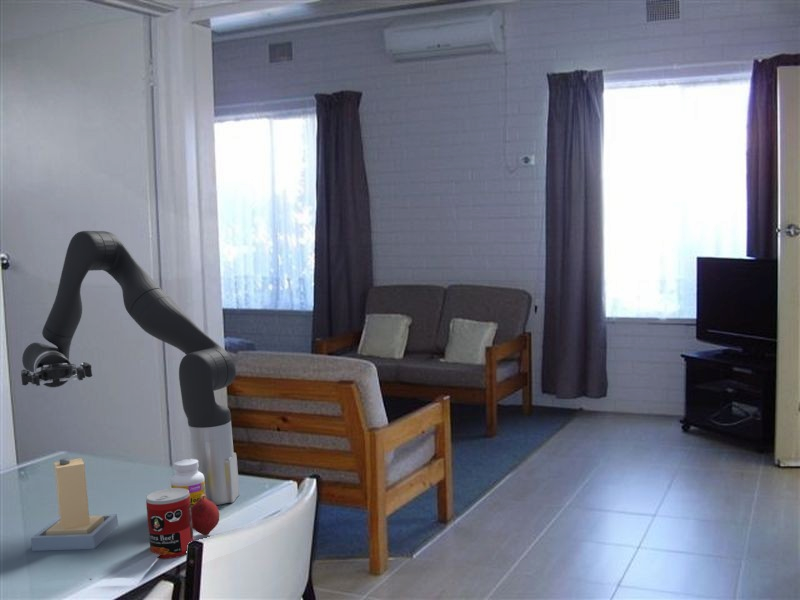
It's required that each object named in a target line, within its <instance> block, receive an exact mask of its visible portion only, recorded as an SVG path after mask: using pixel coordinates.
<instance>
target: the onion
mask: <svg viewBox="0 0 800 600" xmlns="http://www.w3.org/2000/svg"><path fill="white" fill-rule="evenodd" d="M206 497H207V496H206V495H201V497H200V499H199V500H198V501H197V502H196V503H195V504H194V505H193V506H192V508H191V516H192V529H193V530H194V531H196V532H197V533H199V534H200V535H203V536H208V535H209V534H210V533H211V532H212V531H214V529H215V528H216V527H217V526H218V524H219V522H220V510H219V508H218V505H215V504H214V503H213V502H211V501H209V500H207V498H206Z"/></svg>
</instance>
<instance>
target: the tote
mask: <svg viewBox="0 0 800 600" xmlns="http://www.w3.org/2000/svg"><path fill="white" fill-rule="evenodd" d="M102 515H103V517H104V522H103V523H102V524H101V525H100V526H98V527H97V528H96V529H95V530H94V531H93V532H92V533H90V534H75V535H47V536H46V531H47V530H48V529H49V528H51V527H52V526H53V525H55V524H56V523H57V522H58V521H60V518H59V516H58V517H56V518H55V519H54V520H52V521H51V522H50V523H48V524H47V525H46V526H45V527H43V528H42V529H41V530H39V531H38V532H36V533H35V534H34V535H33V536H32V537H31V538H30V539H31V540H30V541H31V550H32V552H38V551H40V552H41V551H42V552H43V551H62V550H63V551H67V550H69V551H71V550H72V551H73V550H95V548H97V547H98V546H99V545H100V544H102V543H103V541H105V540H106V539H107V537H109V536H110V535H111V534H112V533H113V532H114V531H115V530H117V528H119V523H118V522H119V520H118V514H117V513H115V514H109V513H108V514H89V516H102Z"/></svg>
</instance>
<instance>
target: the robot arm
mask: <svg viewBox="0 0 800 600" xmlns="http://www.w3.org/2000/svg"><path fill="white" fill-rule="evenodd" d="M70 239H71V240H70V241H69V243H68V247H67V250H66V253H65V258H64V262H63V266H62V271H61V274H60V279H59V284H58V288H57V292H56V295H55V299H54V302H53V304H52V307H51V309H50V311H49V314H48V316H47V318H46V320H45V323H44V326H43V329H42V331H41V334H42V337H43V338H44V339H45V341H47V342H48V343H50V344H52V345H54V346H52V345H48V344H45V343H43V342H42V343H41V342H32V343H30V344H29V345H28V346H27V347H26V348H25V349H24V351H23V353H22V357H21V358H22V359H21V362H22V366H23V368H24V369H22V370H20V377H21V385H22V386H27V385H29V383H31V385H34V386H36V387H38V386H41V385H44V386H45V387H48V388H59V387H62V386H63V385H65V384H66V383H67V382H69V381H74V380H75V381H76V380H78V381H83V380H84V379H85V378H91V377H93V372H92V371H93V370H92V365H91V364H90V363H88V362H82V363H79V365H80V366H79V365H78V366H77V364H76V363H71V361H70V351H71V349H70V348H71V344H72V341H73V338H74V336H75V333H76V330H77V328H78V326H79V324H80V322H81V319H82V315H83V302H82V301H83V300H82V297H81V295H82V294H81V287H82V284H83V281H84V279H85V278H86V276H87V274H88V273H89V271H104V272H105V273H107V274H108V275H110V276H111V277H112V278H113V279H114V280H115V281H116V282H117V284H118V285H119V286H120V288H121V291H122V299H123V305H124V308H125V310H126V311H127V313H128V315H129V316H130V317H131V319H132V320H134V322H135V323H136V324H137V325H138V326H139V327H140V329H142V330H143V331H144V332H145V333H147V334H148V335H150V336H152V337H153V338H155V339H157V340H158V341H162V342H163V343H166V344H168V345H170V346H172V347H174V348H176V349H177V350H179V351H181V352H182V353H184V354H185V355H184V356H183V357H182V359H181V360H180V363H179V367H178V380H179V389H180V394H181V403H182V409H183V411H184V412H183V413H184V414H185V416H186V418H187V427H188V428H187V429H188V439H189V452H190V453H189V454H190V459H196V460H198V464H199V467H198V471H199V472H201V473H202V474H203V475H204V479H205V493H206V496H207V497H206V498H207V500H209V501H211V502H213V503H214V504H215V505H216V506H218V505H219V506H220V505H223V504H230V503H232V504H233V503H234V502H235V500H236V499H237V498H238V496H239V495H240V482H239V471H238V469H239V468H238V459H237V453H236V452H234V443H233V428H232V414H231V410H230V408H229V407H228V406H225V405H220V404H218V403H217V402H216V397H215V391H219V390H222V389H223V388H226V387H228V386H230V385H231V384H233V382H234V381H235V378H236V374H237V371H236V370H237V369H236V365H235V362H234V360H233V358H232V356H231V355H230V354H229V352H227V350H225V348H223V347H222V346H221V345H220V344H219V343H217V341H215V340H214V339H212V337H210V336H209V335H208V334H207V333H206V332H205V331H203V330H202V329H201V328H200V327H199V326H198V325H197V324H196V323H195V322H194V321H193V320H192V319H191V318H190V317H189V316H188V315H187V314H186V313H185V312H184V311H183V310H182V309H181V308H180V307H179V306H178V305H177V304H176V303H175V301H174V300H173V299H172V298H171V297H170V296H169V295H168V294H167V293H166V291H165V290H163V288H161V287H160V286H159V285H158V284H157V283H156V282H155V280H154V279H152V277H151V276H150V275H149V274H148V273H147V272H146V270H144V268H142V266H141V265H140V264H139V263H138V262H137V260H136V259H135V258H134V257H133V255H132V254H131V252H130V251H129V249H128V248H127V247H126V246H125V244H124V243H123V242H122V241H121V239H120V238H119V237H118V236H117V235H115V234H114V233H112V232H109V231H106V230H81V231H77V232H76V233H75V234H74V235H73V236H72V238H70Z"/></svg>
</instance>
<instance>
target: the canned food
mask: <svg viewBox="0 0 800 600" xmlns="http://www.w3.org/2000/svg"><path fill="white" fill-rule="evenodd" d="M145 500H146V501H145V503H146V504H145V505H146V514H147V515H146V516H147V524H148V525H147V526H148V527H147V528H148V538H149V546H150V552H151V553H153V554H156V555H158V556H157V559H160V560H161V559H162V560H167V559H168V560H169V559H176V558H179V557H183V556H185V555H187V554H186V551H187V545H188V543H189V542H191V541H194V531H193V530H194V529H193V528H192V516H191V503H190V494H189V490H187V489H184V488H171V487H169V488H164V489H163V488H162V489H160V490H159V489H158V490H155V491H153V492H151V493H149V494H148V495H147V496H146V499H145Z"/></svg>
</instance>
